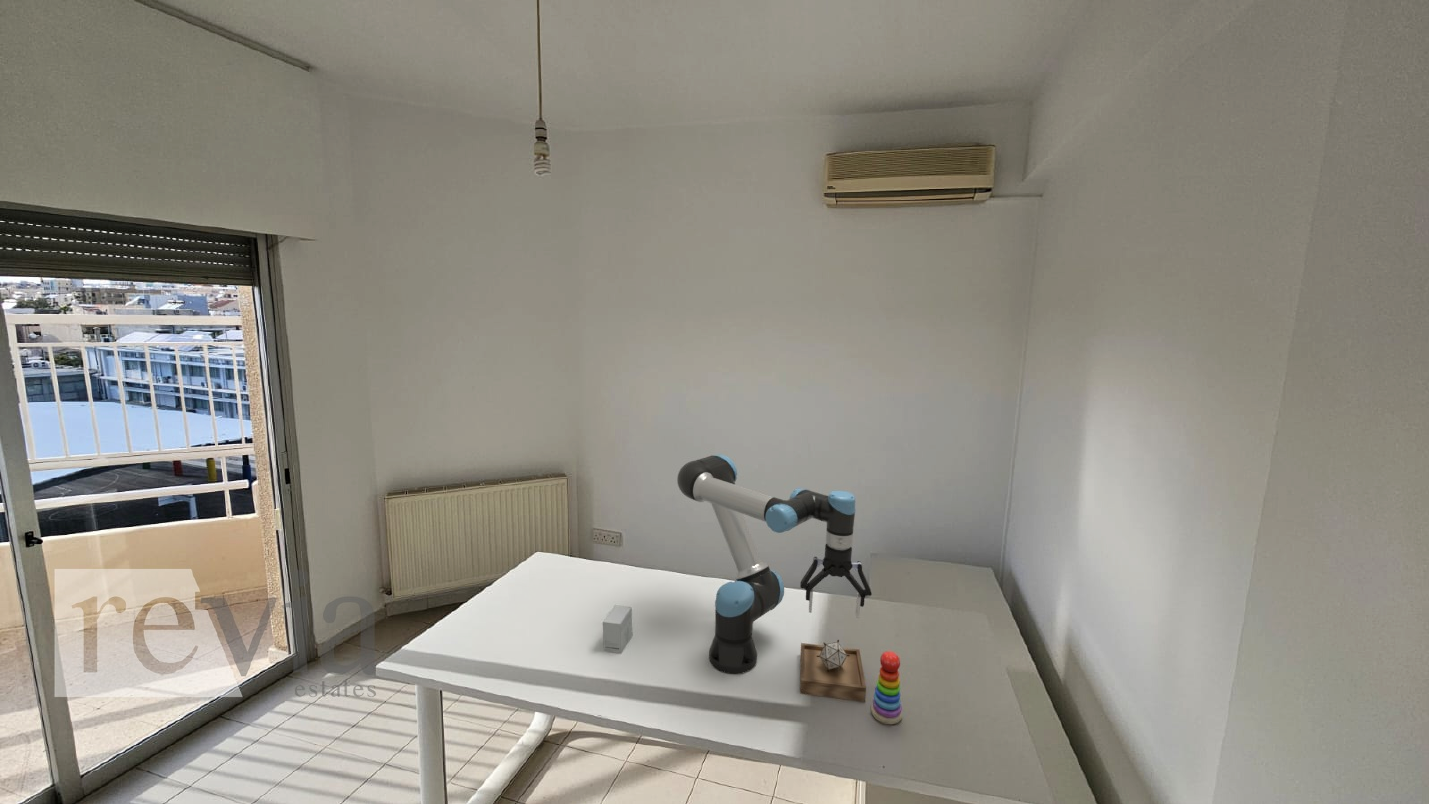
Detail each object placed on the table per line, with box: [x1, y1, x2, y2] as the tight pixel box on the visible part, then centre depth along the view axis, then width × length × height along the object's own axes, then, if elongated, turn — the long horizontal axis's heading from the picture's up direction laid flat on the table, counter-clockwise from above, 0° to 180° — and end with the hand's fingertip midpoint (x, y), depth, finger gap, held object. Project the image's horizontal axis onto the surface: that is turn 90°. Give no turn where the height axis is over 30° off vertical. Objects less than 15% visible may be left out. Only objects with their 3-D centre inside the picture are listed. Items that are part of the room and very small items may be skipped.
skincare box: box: [602, 604, 634, 655], centre depth 175 cm, size 10×6×10 cm, turn 168°
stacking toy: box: [870, 650, 903, 725], centre depth 145 cm, size 8×8×19 cm
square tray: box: [799, 642, 867, 703], centre depth 161 cm, size 18×18×4 cm
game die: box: [816, 639, 850, 673], centre depth 161 cm, size 9×8×10 cm
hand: (833, 613), depth 159 cm, fingers open, 13 cm apart
